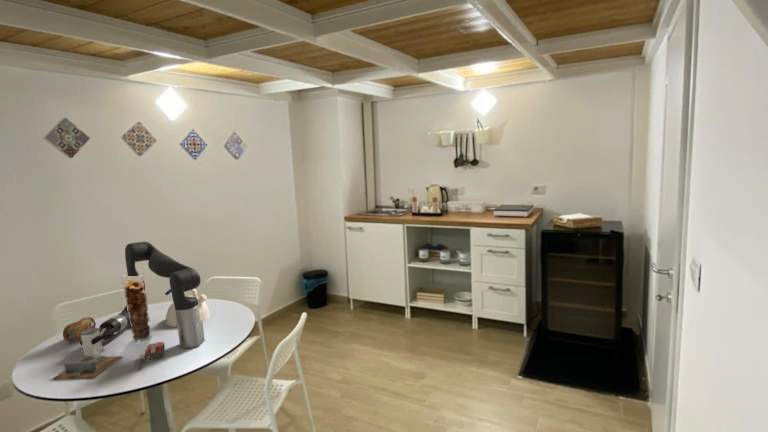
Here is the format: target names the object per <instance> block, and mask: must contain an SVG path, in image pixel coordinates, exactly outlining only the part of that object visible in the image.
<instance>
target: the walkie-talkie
mask: <svg viewBox="0 0 768 432" xmlns="http://www.w3.org/2000/svg"><path fill="white" fill-rule="evenodd" d="M164 353H165V342H164V341H158V342H152V343H149V344H148V345H147V347H146V349H145V351H143V352H142V353H140V354H139V357H138V362H139V363H138V366H137V369H138V370H141V369H142V366H143V363H144V362H149V361H150V362H151V361H154V360H159V359H162V358H163V357H164Z"/></svg>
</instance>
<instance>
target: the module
mask: <svg viewBox="0 0 768 432" xmlns="http://www.w3.org/2000/svg"><path fill="white" fill-rule="evenodd" d="M99 335H100V331H99V327H95V328H91V329H88V330H86V331H84V332H82V333H81V339H80V340H82V345H81V346H82V351H83V356H84V357H95V356H96V355H98V354H99V353H100V352H102V351H103V346H102V345H103V344H102V341H99V342H97V343H96V344H93V345H92V343H91V340H92V339H94V338H95V337H97V336H99Z"/></svg>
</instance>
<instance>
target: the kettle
mask: <svg viewBox="0 0 768 432" xmlns="http://www.w3.org/2000/svg"><path fill="white" fill-rule="evenodd" d="M190 291H191V292H192V294H193V295H187V296H188V297H196V298H197V299H198V306H199V314H200V320H202V322H205V321H206V320H207V319H209V317H210V316H211V315H210V314H211V313H210V311H209V306H208V304H207V303H206V300H207V299H208V297H207V295H206V294H202V293H201V294H200V296H198V292H197V289H196V288H195V289H192V290H190ZM171 293H172V292H171V288H170V289H168V290H167V291H166V292H165V293H164V295H165V296H169V295H170V294H171ZM166 311H167V312H166V314H165V320H166V321H165V322H166V325H167V326H168V327H174V328H177V321H176V313H175V306H174V302H172V303H171V304H170V305H169V307H168V309H167V310H166Z"/></svg>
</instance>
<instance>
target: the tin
mask: <svg viewBox="0 0 768 432" xmlns="http://www.w3.org/2000/svg"><path fill="white" fill-rule="evenodd" d="M96 327H97V326H96V321H95V319H94V318H92V317H90V316H89V317H83V318H80V319H78V320H76V321H74V322H72V323H69V324H68V325H66V326H65V327H64V329H63V331H62V336H63V340H64V341H65V342H68V343H76V342H78V341H80V340H81V333H82V332H84V331H86V330H88V329H91V328H96Z"/></svg>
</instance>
